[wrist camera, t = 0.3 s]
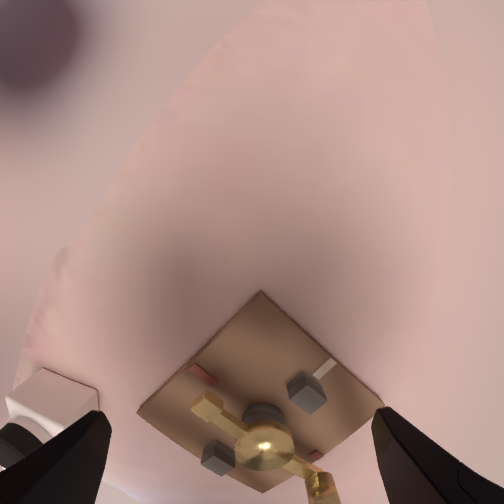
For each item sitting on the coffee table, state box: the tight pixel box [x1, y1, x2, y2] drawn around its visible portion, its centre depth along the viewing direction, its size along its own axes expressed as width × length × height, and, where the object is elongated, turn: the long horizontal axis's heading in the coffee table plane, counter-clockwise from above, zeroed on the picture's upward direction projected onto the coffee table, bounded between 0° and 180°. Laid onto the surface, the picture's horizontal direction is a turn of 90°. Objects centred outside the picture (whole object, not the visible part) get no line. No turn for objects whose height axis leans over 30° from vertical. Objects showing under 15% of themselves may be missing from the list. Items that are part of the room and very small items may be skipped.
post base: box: [137, 290, 385, 493], centre depth 22 cm, size 16×16×4 cm
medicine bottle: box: [0, 368, 99, 470], centre depth 18 cm, size 7×7×12 cm
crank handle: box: [190, 389, 341, 504], centre depth 17 cm, size 4×14×6 cm, turn 46°
